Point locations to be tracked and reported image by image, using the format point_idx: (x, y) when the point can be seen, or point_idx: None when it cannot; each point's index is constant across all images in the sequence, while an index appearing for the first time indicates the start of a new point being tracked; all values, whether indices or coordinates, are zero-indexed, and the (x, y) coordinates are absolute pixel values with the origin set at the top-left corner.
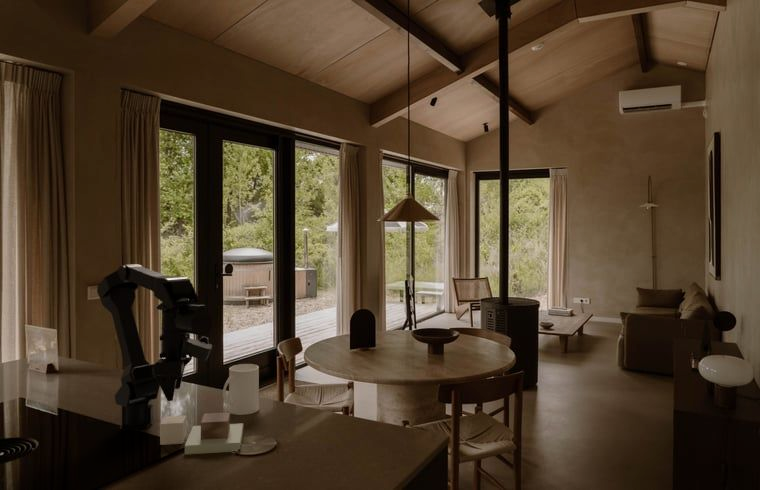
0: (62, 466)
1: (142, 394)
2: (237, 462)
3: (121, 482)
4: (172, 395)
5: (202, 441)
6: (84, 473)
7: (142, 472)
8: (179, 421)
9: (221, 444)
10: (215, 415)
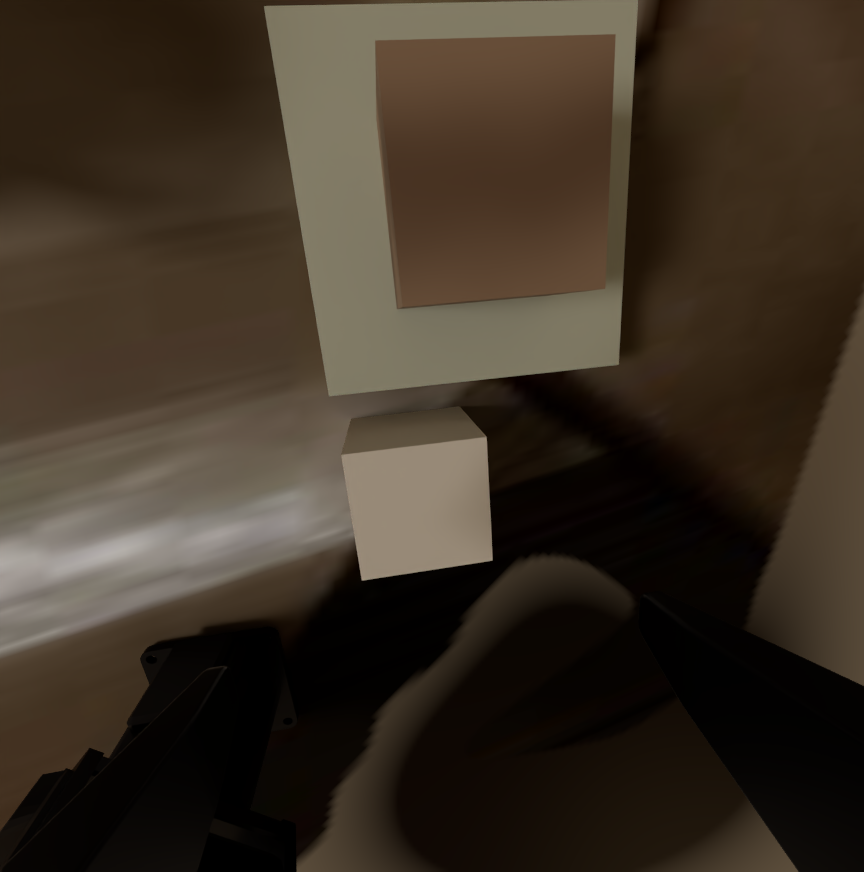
0: (612, 729)
1: (236, 860)
2: (744, 39)
3: (779, 517)
4: (726, 627)
5: None
6: None
7: (723, 477)
8: (459, 466)
9: (626, 145)
10: (456, 190)
